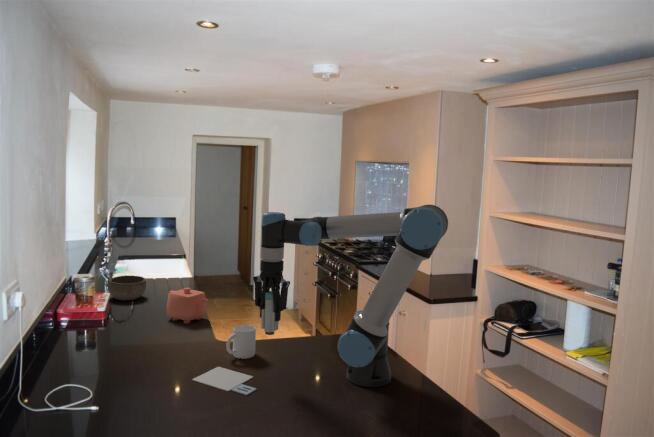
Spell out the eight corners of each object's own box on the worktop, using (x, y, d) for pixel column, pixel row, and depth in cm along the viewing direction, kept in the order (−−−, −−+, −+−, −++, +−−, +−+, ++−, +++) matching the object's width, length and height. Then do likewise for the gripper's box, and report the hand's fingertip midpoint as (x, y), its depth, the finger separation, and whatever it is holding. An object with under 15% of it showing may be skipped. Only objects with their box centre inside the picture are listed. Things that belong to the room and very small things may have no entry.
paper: (253, 377, 176) (253, 376, 176) (228, 391, 165) (228, 390, 165) (218, 367, 184) (218, 366, 184) (191, 380, 172) (191, 379, 172)
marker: (277, 333, 176) (279, 292, 175) (271, 336, 173) (272, 294, 172) (268, 330, 178) (269, 290, 177) (261, 333, 175) (262, 292, 173)
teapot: (216, 320, 236) (216, 289, 234) (196, 327, 225) (196, 295, 223) (179, 311, 246) (180, 282, 245) (158, 318, 235) (159, 287, 234)
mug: (232, 363, 188) (233, 335, 187) (219, 356, 194) (220, 329, 192) (259, 355, 196) (260, 328, 195) (246, 349, 202) (247, 323, 201)
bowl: (138, 303, 257) (138, 283, 255) (102, 302, 257) (102, 282, 256) (151, 294, 274) (151, 275, 273) (116, 293, 274) (116, 274, 273)
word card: (256, 389, 167) (256, 388, 167) (246, 395, 163) (246, 394, 163) (241, 385, 170) (241, 383, 170) (231, 390, 166) (231, 389, 166)
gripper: (299, 261, 172) (296, 330, 175) (258, 254, 180) (256, 321, 183) (286, 264, 166) (284, 337, 168) (244, 257, 174) (242, 326, 176)
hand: (269, 328), depth 176 cm, fingers closed on marker, 3 cm apart
